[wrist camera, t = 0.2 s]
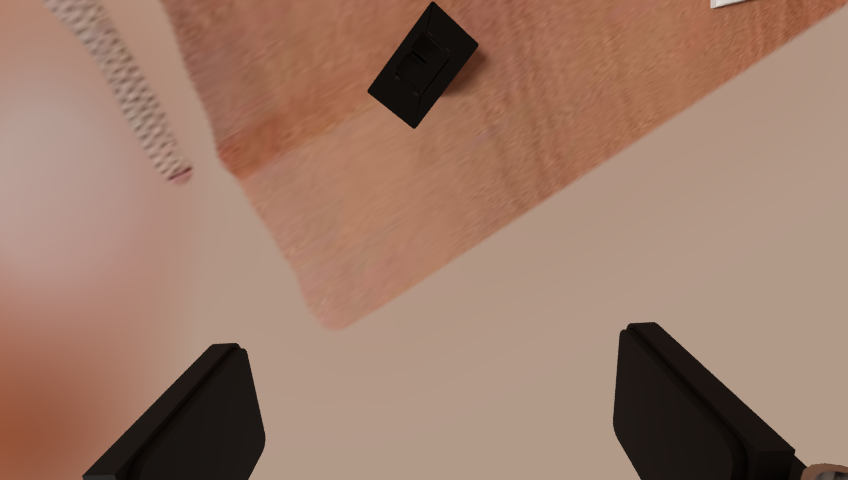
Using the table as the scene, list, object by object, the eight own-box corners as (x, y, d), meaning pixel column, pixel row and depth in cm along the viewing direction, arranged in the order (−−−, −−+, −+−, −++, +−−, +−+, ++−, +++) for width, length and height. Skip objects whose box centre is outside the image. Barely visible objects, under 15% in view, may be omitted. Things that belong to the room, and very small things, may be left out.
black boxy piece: (436, -19, 35) (437, -39, 31) (499, 39, 36) (508, 28, 32) (352, 98, 38) (342, 96, 34) (413, 148, 39) (410, 152, 35)
